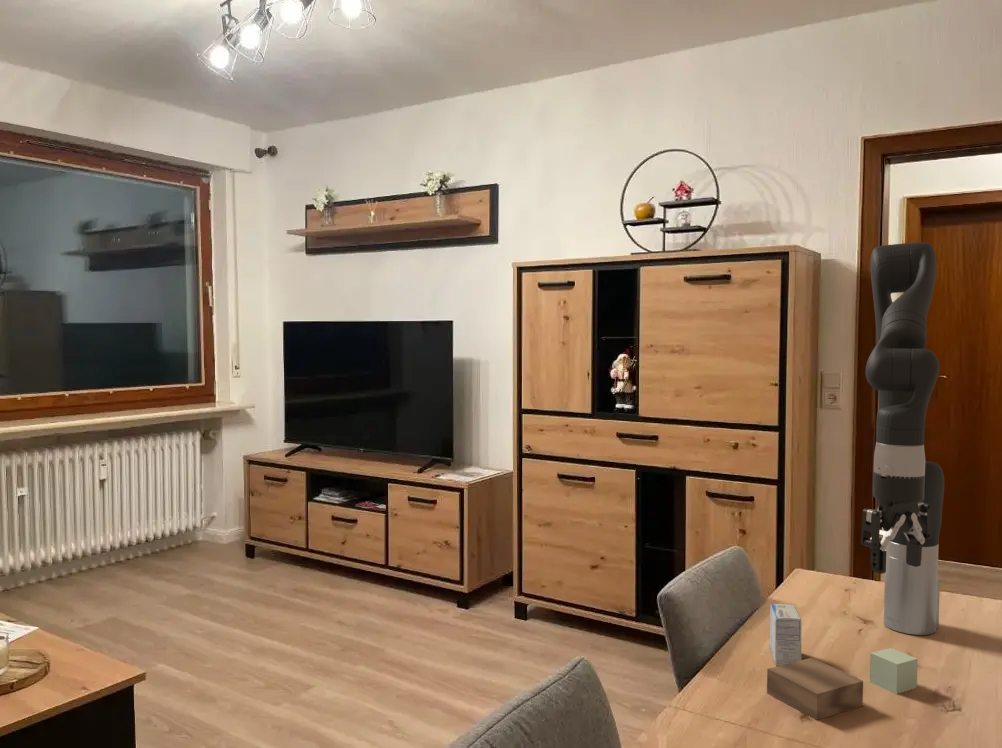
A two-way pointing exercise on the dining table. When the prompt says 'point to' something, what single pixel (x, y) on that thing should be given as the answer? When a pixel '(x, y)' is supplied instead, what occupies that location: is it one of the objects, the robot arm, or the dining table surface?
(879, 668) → the sage green cube
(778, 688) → the walnut block
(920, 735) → the dining table surface
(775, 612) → the medicine box
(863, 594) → the dining table surface
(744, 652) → the dining table surface
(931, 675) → the dining table surface
